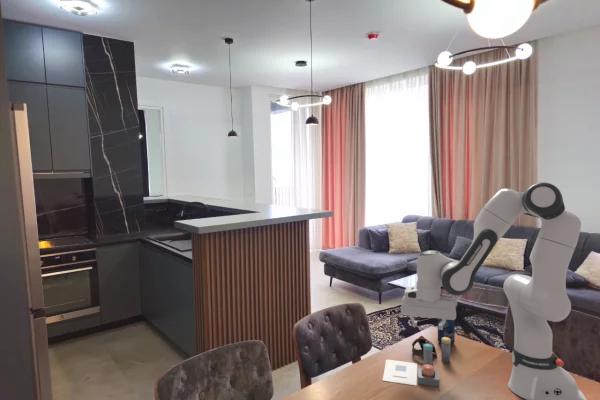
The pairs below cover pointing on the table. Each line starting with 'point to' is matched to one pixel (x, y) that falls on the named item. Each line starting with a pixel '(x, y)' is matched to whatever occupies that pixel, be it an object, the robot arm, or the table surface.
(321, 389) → the table surface
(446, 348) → the marker ochre
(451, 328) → the soda can
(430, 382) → the button housing
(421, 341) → the pottery mug
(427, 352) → the marker teal
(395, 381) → the paper
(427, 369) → the button
